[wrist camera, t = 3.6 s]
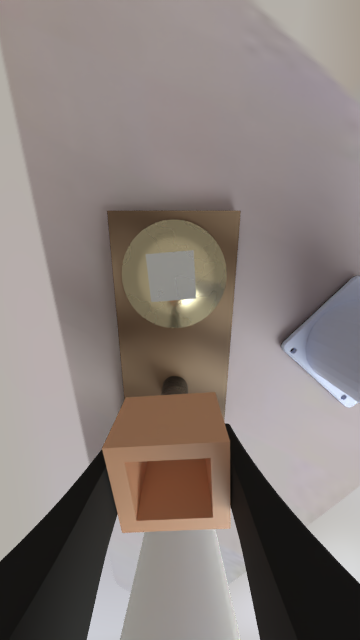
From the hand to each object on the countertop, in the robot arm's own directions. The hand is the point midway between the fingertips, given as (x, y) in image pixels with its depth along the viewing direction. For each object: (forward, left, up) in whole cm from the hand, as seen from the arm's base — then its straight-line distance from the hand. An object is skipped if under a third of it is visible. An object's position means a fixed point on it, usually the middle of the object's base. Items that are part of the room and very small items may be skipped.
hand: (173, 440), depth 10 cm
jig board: (+3, -3, -6) cm, 7 cm away
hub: (+6, -7, -6) cm, 11 cm away
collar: (0, 0, -1) cm, 1 cm away
